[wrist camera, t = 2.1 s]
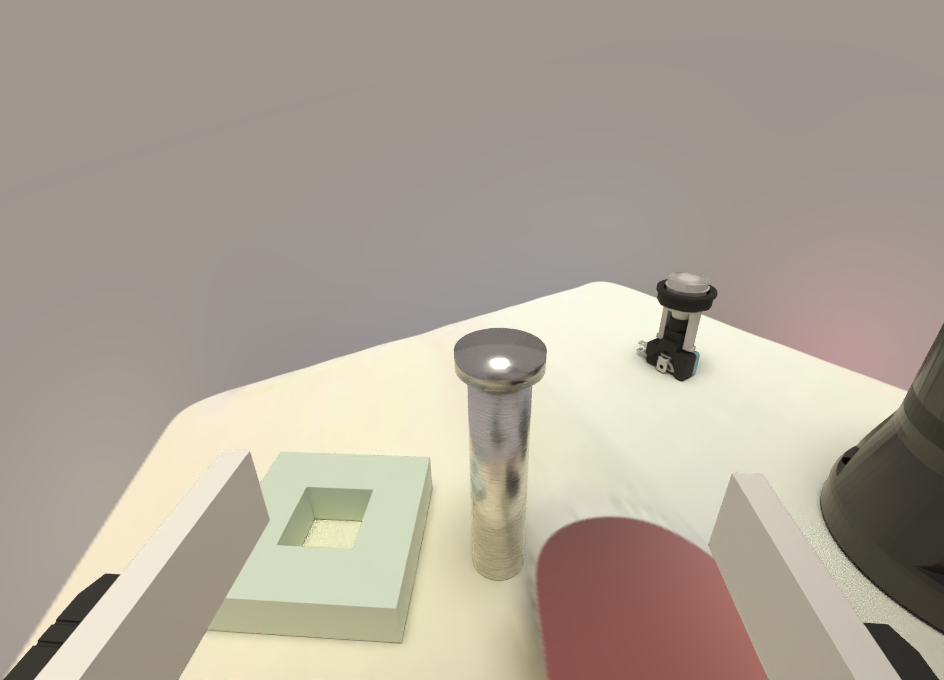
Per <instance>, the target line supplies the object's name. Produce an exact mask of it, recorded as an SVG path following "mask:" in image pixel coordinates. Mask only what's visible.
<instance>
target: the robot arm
mask: <svg viewBox="0 0 944 680" xmlns="http://www.w3.org/2000/svg"><path fill="white" fill-rule="evenodd" d="M821 507H822V512H823V515H824V518H825V521H826V523H827V525H828V527H829V529H830V531H831V533H832V534H833V536H834V537H835V539H836V540H837V542H838V543H839V545H840V546H841V547H842V549H843V550H844V551H845V552H846V554H847V555H848V556H849V557H850V558H851V559H852V561H853V562H854V563H855V564H856V565H857V566H858V567H859V568H860V569H861V570H862V571H863V572H864V573H865V574H866V575H867V576H868V577H869V578H870V579H872V580H873V581H874V582H875V583H876V584H877V585H878V586H880V587H881V588H882V589H883V590H884V591H886V592H887V593H888V594H889V595H890V596H892V597H893V598H894V599H896V600H897V601H898V602H900V603H901V604H902V605H904V606H905V607H907V608H908V609H909V610H911V611H912V612H914V613H915V614H917V615H918V616H920V617H921V618H923V619H924V620H926V621H927V622H929V623H930V624H932V625H934V626H935V627H937V628H939V629H940V630H942V631H944V324H943V325H942V327H941V329H940V331H939V333H938V335H937V337H936V339H935V341H934V343H933V345H932V346H931V348H930V350H929V352H928V354H927V356H926V358H925V360H924V362H923V364H922V366H921V367H920V369H919V371H918V373H917V375H916V377H915V379H914V381H913V383H912V385H911V387H910V389H909V391H908V393H907V395H906V397H905V398H904V400H903V402H902V404H901V406H900V407H899V409H898V410H896V411H895V412H894V413H893V414H892V415H890V416H889V417H888V418H887V419H885V420H884V421H883V422H882V423H881V424H879V425H878V426H877V427H876V428H875V429H873V430H872V431H871V432H870V433H869V434H868V435H866V436H865V437H864V438H863V439H862V440H861V441H860V442H859V444H858V445H857V446H855V447H853V448H851V449H849V450H848V451H847V452H845V453H844V454H843V455H842V456H841V457H840V458H839V459H838V460H837V461H836V463H835V464H834V466H833V467H832V470H831V472H830V474H829V476H828V478H827V480H826V483H825V485H824V487H823V489H822V493H821ZM269 521H270V518H269V515H268V511H267V508H266V504H265V501H264V498H263V494H262V491H261V487H260V484H259V481H258V477H257V474H256V470H255V467H254V463H253V460H252V457H251V453H250V451H245V450H223V451H222V452H221V453H220V455H219V456H218V457H217V458H216V459H215V461H214V462H213V463H212V464H211V466H210V467H209V468H208V469H207V470H206V472H205V473H204V474H203V475H202V476H201V478H200V479H199V480H198V481H197V483H196V484H195V485H194V486H193V487H192V489H191V490H190V491H189V492H188V493H187V495H186V496H185V497H184V498H183V500H182V501H181V502H180V503H179V504H178V506H177V507H176V508H175V509H174V510H173V512H172V513H171V514H170V515H169V516H168V518H167V519H166V520H165V521H164V523H163V524H162V525H161V526H160V527H159V529H158V530H157V531H156V532H155V533H154V535H153V536H152V537H151V538H150V540H149V541H148V542H147V543H146V544H145V546H144V547H143V548H142V549H141V550H140V552H139V553H138V554H137V555H136V557H135V558H134V559H133V560H132V561H131V563H130V564H129V565H128V566H127V567H126V569H125V570H124V571H123V572H122V574H121V575H120V574H104V575H103V576H102V577H100V578H99V579H98V580H96V581H95V582H94V583H92V584H91V585H90V586H88V587H87V588H86V589H85V590H83V591H82V592H81V593H79V594H78V595H77V596H76V597H75V599H74V600H73V601H72V602H71V603H70V604H69V605H68V607H67V608H66V609H65V610H64V611H63V612H62V613H61V615H60V616H59V617H58V618H57V619H56V623H55V624H54V625H53V624H52V625H51V626H50V627H49V628H48V629H47V630H46V632H45V633H44V634H43V635H42V636H41V637H40V638H39V640H38V643H37V645H36V646H32V648H31V649H30V650H29V651H28V652H27V653H26V654H25V656H24V657H23V658H22V659H21V660H20V661H19V662H18V664H17V665H16V666H15V667H14V668H13V669H12V670H11V672H10V673H9V674H8V675H7V676H6V677H5V678H4V679H3V680H179V678H180V676H181V674H182V673H183V671H184V669H185V667H186V666H187V664H188V662H189V660H190V659H191V657H192V655H193V653H194V652H195V650H196V648H197V647H198V645H199V643H200V641H201V640H202V638H203V636H204V634H205V633H206V631H207V629H208V627H209V626H210V624H211V622H212V620H213V619H214V617H215V615H216V613H217V612H218V610H219V608H220V606H221V605H222V603H223V601H224V599H225V598H226V596H227V594H228V593H229V591H230V589H231V587H232V586H233V584H234V582H235V580H236V579H237V577H238V575H239V573H240V572H241V570H242V568H243V566H244V565H245V563H246V561H247V559H248V558H249V556H250V554H251V552H252V551H253V549H254V547H255V545H256V544H257V542H258V540H259V539H260V537H261V535H262V533H263V532H264V530H265V528H266V526H267V525H268V523H269ZM708 545H709V548H710V550H711V552H712V554H713V557H714V559H715V561H716V563H717V566H718V568H719V570H720V572H721V574H722V576H723V579H724V581H725V584H726V586H727V588H728V590H729V593H730V595H731V597H732V599H733V601H734V604H735V606H736V608H737V610H738V613H739V615H740V617H741V619H742V622H743V624H744V626H745V628H746V630H747V633H748V635H749V637H750V640H751V642H752V644H753V646H754V648H755V651H756V653H757V655H758V657H759V660H760V662H761V664H762V667H763V669H764V671H765V673H766V675H767V678H768V680H939V679H938V678H937V676H936V675H935V674H934V672H933V671H932V669H931V668H930V667H929V665H928V664H927V663H926V661H925V660H924V659H923V657H922V656H921V655H920V653H919V652H918V651H917V650H916V649H915V648H914V647H912V646H911V645H910V644H909V643H908V642H907V641H906V640H905V639H904V638H902V637H901V636H900V635H899V634H898V633H897V632H896V631H895V630H893V629H892V628H891V627H890V626H889V625H888V624H875V623H863V622H862V621H861V619H860V618H859V616H858V615H857V613H856V612H855V610H854V609H853V607H852V606H851V604H850V603H849V601H848V600H847V598H846V597H845V595H844V594H843V593H842V591H841V590H840V588H839V587H838V585H837V584H836V582H835V581H834V579H833V578H832V576H831V575H830V573H829V572H828V570H827V569H826V567H825V566H824V564H823V563H822V561H821V560H820V558H819V557H818V556H817V554H816V553H815V551H814V550H813V548H812V547H811V545H810V544H809V542H808V541H807V539H806V538H805V536H804V535H803V533H802V532H801V530H800V529H799V527H798V526H797V524H796V523H795V521H794V520H793V519H792V517H791V516H790V514H789V513H788V511H787V510H786V508H785V507H784V505H783V504H782V502H781V501H780V499H779V498H778V496H777V495H776V493H775V492H774V490H773V489H772V487H771V486H770V484H769V483H768V482H767V480H766V479H765V477H764V476H763V474H743V473H732V475H731V478H730V481H729V484H728V487H727V490H726V493H725V496H724V499H723V502H722V505H721V508H720V511H719V514H718V517H717V520H716V523H715V526H714V529H713V532H712V535H711V538H710V541H709V544H708Z"/></svg>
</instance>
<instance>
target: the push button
mask: <svg viewBox="0 0 944 680" xmlns="http://www.w3.org/2000/svg"><path fill="white" fill-rule="evenodd" d="M656 289H657V291H658V296H657V299H658V301H659V302H660V304H661V305H662V306H664V308H663V313H662V318H661V323H660V329H659V333H657V335H656V337H657V338H656V339H654V340H652V341H649V342H648V343H647V342H645V341H640V342H638V344H641V345H643V346H645V348H646V350H645V349H643V348H639V349H637V351H639V352H641V353H643V355H645V356H647V358H646V360H647V362H648V363H650V364H652V365H654V366H656V368H657V370H659V371H661V372H663V373H665V372H668V373H670V374H672V375H674V377H675V378H676V379H677V380H679V381H682V380H684V379H686V378H688V377H690V376H692V375H694V374H695V373H696V368H697V364H698V360H699V353H698V352H697V351H694V350H695V348H696V347H695V346H694V342H695V338H696V334H697V330H698V325H699V321H700V317H701V313H702V311H706V310H709V309H710V308H711V306H712V302H713V300H714V299H715V298H716V296H717V290H716V289H715V288H714V287H713V286H711V285H709V279H708V278H707V277H705V276H702V275H700V274H695V273H690V272H676V273H672V274H670V275H669V277H668V279H666V280H662V281H660V282H659V283H658V284H657V288H656ZM642 343H645V344H642ZM641 350H644V351H641Z"/></svg>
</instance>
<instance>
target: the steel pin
mask: <svg viewBox="0 0 944 680" xmlns="http://www.w3.org/2000/svg"><path fill="white" fill-rule="evenodd" d="M546 354H547V349H546V346H545V344H544V343H543V342H542V341H541V340H540V339H539V338H538V337H536V336H534V335H532V334H530V333H527V332H524V331H521V330H516V329H509V328H490V329H483V330H479V331H475V332H472V333H470V334H467V335H465V336H464V337H462V338H461V339H460V340H459V341H458V342H457V343H456V345H455V347H454V362H455V372H456V374H457V376H458V377H459V378H460V379H461V380H462V381H463V382H464V383H466V384H468V415H469V449H470V483H471V518H472V552H473V563H474V566H475V568H476V569H477V571H478V572H479V573H480V574H481V575H483V576H484V577H486V578H488V579H491V580H497V581H501V580H507V579H510V578H512V577H514V576H515V575H516V574H517V573H518V572H519V571H520V570H521V568H522V565H523V561H524V540H525V520H526V499H527V479H528V459H529V438H530V418H531V397H532V385H534V384H536V383H537V382H538V381H540V380H541V379H542V377H543V376H544V374H545V370H546Z"/></svg>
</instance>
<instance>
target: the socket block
mask: <svg viewBox="0 0 944 680" xmlns="http://www.w3.org/2000/svg"><path fill="white" fill-rule="evenodd" d="M260 487H261V491H262V494H263V498H264V501H265V504H266V508H267V511H268V515H269V518H270V521H269V523H268V525H267V526H266V528H265V530H264V532H263V533H262V535H261V537H260V539H259V540H258V542H257V544H256V545H255V547H254V549H253V551H252V552H251V554H250V556H249V558H248V559H247V561H246V563H245V565H244V566H243V568H242V570H241V572H240V573H239V575H238V577H237V579H236V580H235V582H234V584H233V586H232V587H231V589H230V591H229V593H228V594H227V596H226V598H225V599H224V601H223V603H222V605H221V606H220V608H219V610H218V612H217V613H216V615H215V617H214V619H213V620H212V622H211V624H210V626H209V627H208V629H207V630H214V631H229V632H244V633H259V634H274V635H289V636H304V637H319V638H334V639H349V640H364V641H379V642H394V643H402V638H403V633H404V628H405V623H406V618H407V613H408V608H409V603H410V598H411V593H412V588H413V583H414V578H415V573H416V568H417V563H418V558H419V553H420V548H421V543H422V538H423V533H424V528H425V523H426V518H427V513H428V508H429V503H430V498H431V493H432V477H431V465H430V457H412V456H384V455H356V454H329V453H301V452H280V453H279V455H278V457H277V458H276V460H275V461H274V463H273V464H272V466H271V467H270V469H269V471H268V472H267V474H266V475H265V477H264V478H263V480H262V481H261V483H260ZM314 519H332V520H353V521H362V523H361V526H360V529H359V532H358V534H357V537H356V540H355V543H354V546H353V549H339V548H320V547H302V545H303V543H304V541H305V538H306V536H307V534H308V532H309V530H310V528H311V525H312V523H313V521H314Z"/></svg>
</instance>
